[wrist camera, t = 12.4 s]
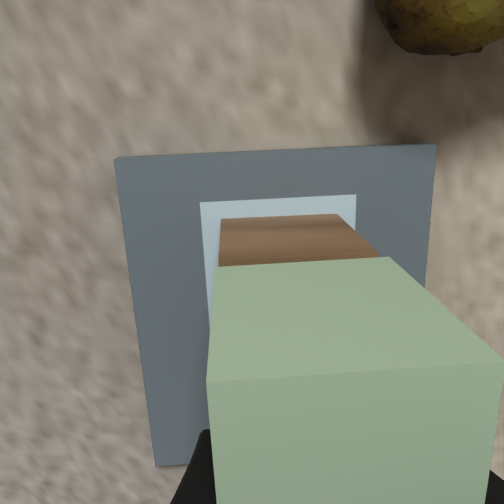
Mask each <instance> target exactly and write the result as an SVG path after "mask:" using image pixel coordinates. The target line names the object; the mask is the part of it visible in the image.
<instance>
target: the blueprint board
mask: <svg viewBox="0 0 504 504" xmlns="http://www.w3.org/2000/svg"><path fill="white" fill-rule="evenodd" d="M436 147H437V144H433V143H408V144H387V145H366V146H345V147H324V148H303V149H282V150H260V151H239V152H218V153H197V154H176V155H155V156H134V157H118V158H116V159H114V166H115V173H116V181H117V188H118V195H119V203H120V210H121V217H122V225H123V232H124V239H125V247H126V254H127V261H128V268H129V276H130V283H131V290H132V298H133V305H134V312H135V320H136V327H137V334H138V342H139V349H140V356H141V364H142V371H143V378H144V386H145V393H146V400H147V408H148V415H149V422H150V430H151V437H152V444H153V451H154V459H155V466H156V467H157V466H170V465H184V464H189V463H190V460H191V458H192V455H193V453H194V450H195V447H196V444H197V441H198V438H199V434H200V433H201V432H202V431H203V430H204V429H210V422H209V411H208V399H207V388H206V376H207V363H208V351H209V338H210V325H211V312H212V299H213V286H214V273H215V267H219V265H218V257H219V241H220V225H221V219H226V218H249V217H271V216H294V215H316V214H338V215H339V216H340V217H341V218H342V219H343V220H344V221H345V222H346V223H347V224H348V225H350V226H351V227H352V228H353V229H354V230H355V231H356V232H357V233H358V234H359V235H360V236H361V237H362V238H363V239H364V240H366V241H367V242H368V243H369V244H370V245H371V246H372V247H373V248H374V249H375V250H376V251H377V252H378V253H379V257H390V258H391V259H392V260H394V261H395V262H396V263H397V264H398V265H399V266H400V267H401V268H402V269H404V270H405V271H406V272H407V273H408V274H409V275H410V276H411V277H413V278H414V279H415V280H416V281H417V282H418V283H419V284H420V285H421V286H423V287H425V275H426V264H427V252H428V240H429V229H430V217H431V205H432V194H433V182H434V170H435V159H436Z"/></svg>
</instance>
